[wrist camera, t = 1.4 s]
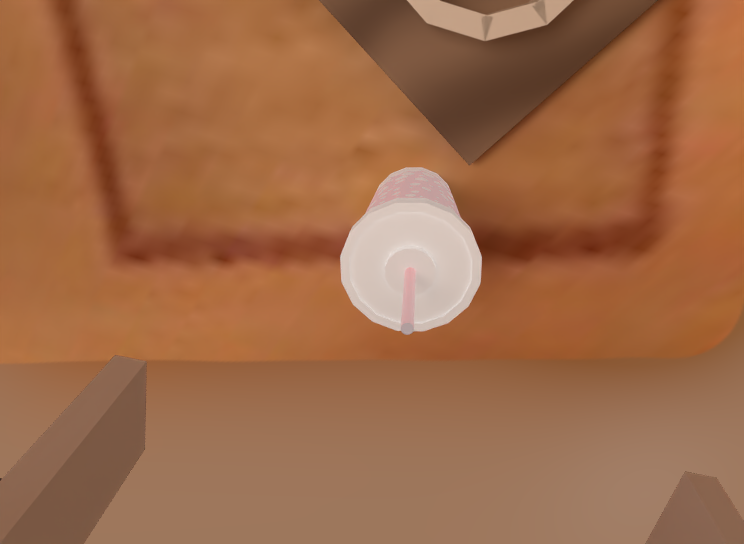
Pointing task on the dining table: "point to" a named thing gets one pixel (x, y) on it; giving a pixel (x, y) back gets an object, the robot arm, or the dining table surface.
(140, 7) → the dining table surface
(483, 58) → the holder
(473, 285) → the beverage cup
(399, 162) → the dining table surface
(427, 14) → the ring
